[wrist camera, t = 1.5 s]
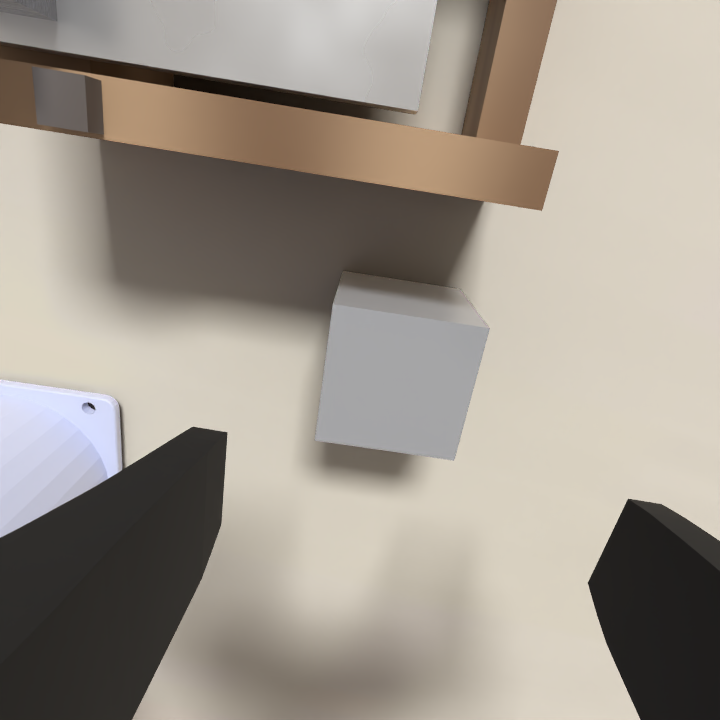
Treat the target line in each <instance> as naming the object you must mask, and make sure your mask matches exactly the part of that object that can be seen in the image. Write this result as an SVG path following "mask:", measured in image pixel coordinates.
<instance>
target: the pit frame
mask: <svg viewBox="0 0 720 720" xmlns="http://www.w3.org/2000/svg"><path fill="white" fill-rule="evenodd" d="M556 2H557V0H490V1H489V6H488V11H487V15H486V20H485V25H484V30H483V34H482V39H481V44H480V49H479V54H478V58H477V63H476V68H475V73H474V77H473V82H472V87H471V92H470V97H469V101H468V106H467V111H466V116H465V120H464V125H463V130H462V135H458V134H452V133H446V132H440V131H434V130H428V129H422V128H416V127H410V126H404V125H398V124H392V123H386V122H380V121H374V120H368V119H362V118H356V117H350V116H344V115H338V114H332V113H326V112H320V111H314V110H308V109H302V108H296V107H290V106H284V105H278V104H272V103H266V102H260V101H254V100H248V99H242V98H236V97H230V96H224V95H218V94H212V93H206V92H200V91H194V90H188V89H182V88H176V87H174V74H170V73H164V72H158V71H152V70H146V69H140V68H134V67H128V66H122V65H116V64H110V63H104V62H98V61H92V60H86V59H80V58H74V57H68V56H62V55H56V54H50V53H44V52H38V51H32V50H26V49H21V48H15V47H9V46H3V45H0V123H3V124H9V125H16V126H22V127H28V128H34V129H40V130H46V131H53V132H59V133H65V134H71V135H77V136H84V137H90V138H96V139H102V140H108V141H114V142H121V143H127V144H133V145H139V146H145V147H152V148H158V149H164V150H170V151H176V152H183V153H189V154H195V155H201V156H207V157H213V158H220V159H226V160H232V161H238V162H244V163H251V164H257V165H263V166H269V167H275V168H282V169H288V170H294V171H300V172H306V173H312V174H319V175H325V176H331V177H337V178H343V179H350V180H356V181H362V182H368V183H374V184H381V185H387V186H393V187H399V188H405V189H411V190H418V191H424V192H430V193H436V194H442V195H449V196H455V197H461V198H467V199H473V200H479V201H486V202H492V203H498V204H504V205H510V206H517V207H523V208H529V209H535V210H541V211H542V209H543V205H544V202H545V198H546V195H547V191H548V188H549V184H550V180H551V177H552V173H553V170H554V166H555V163H556V159H557V156H558V152H559V151H555V150H549V149H543V148H537V147H531V146H525V145H520V144H521V140H522V136H523V132H524V128H525V124H526V120H527V116H528V113H529V109H530V105H531V101H532V97H533V93H534V89H535V85H536V81H537V77H538V73H539V69H540V65H541V61H542V57H543V53H544V50H545V46H546V42H547V38H548V34H549V30H550V26H551V22H552V18H553V14H554V10H555V6H556Z"/></svg>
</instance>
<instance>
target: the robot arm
mask: <svg viewBox="0 0 720 720" xmlns="http://www.w3.org/2000/svg"><path fill="white" fill-rule="evenodd" d="M87 402H89V403H92V404H93V405H94V406H95V409H96V410H94V409H92V408H90V407H89V405H88V403H87ZM226 445H227V432H221V431H215V430H209V429H203V428H197V427H192V428H190V429H188V430H186V431H185V432H183V433H181V434H180V435H178V436H177V437H175V438H173V439H172V440H170V441H168V442H167V443H165V444H164V445H162V446H161V447H159V448H157V449H156V450H154V451H153V452H151V453H149V454H148V455H146V456H145V457H143V458H141V459H140V460H138V461H136V462H135V463H133V464H131V465H130V466H128V467H127V468H125V469H123V470H122V450H121V429H120V408H119V404H118V402H117V401H116V400H115V399H114V398H113V397H111V396H108V395H105V394H98V393H91V392H84V391H77V390H70V389H63V388H56V387H49V386H42V385H35V384H28V383H21V382H14V381H7V380H0V720H132V719H133V716H134V714H135V712H136V710H137V708H138V706H139V704H140V702H141V700H142V698H143V696H144V694H145V692H146V690H147V688H148V686H149V684H150V682H151V680H152V678H153V676H154V674H155V672H156V670H157V668H158V666H159V664H160V662H161V660H162V658H163V656H164V654H165V652H166V650H167V648H168V646H169V644H170V642H171V640H172V638H173V636H174V634H175V632H176V630H177V628H178V626H179V624H180V622H181V620H182V618H183V616H184V614H185V612H186V610H187V608H188V606H189V603H190V601H191V599H192V597H193V595H194V593H195V591H196V589H197V587H198V585H199V583H200V581H201V579H202V576H203V573H204V571H205V568H206V565H207V563H208V560H209V557H210V555H211V552H212V549H213V546H214V543H215V540H216V538H217V535H218V532H219V529H220V526H221V520H222V505H223V490H224V475H225V460H226ZM588 585H589V588H590V592H591V595H592V599H593V602H594V606H595V609H596V613H597V616H598V619H599V622H600V625H601V628H602V631H603V634H604V637H605V640H606V643H607V645H608V648H609V650H610V652H611V655H612V657H613V659H614V662H615V664H616V666H617V668H618V671H619V673H620V675H621V677H622V679H623V682H624V684H625V686H626V688H627V691H628V693H629V695H630V697H631V700H632V702H633V704H634V706H635V708H636V711H637V713H638V715H639V717H640V719H641V720H720V541H719V540H717V539H716V538H714V537H713V536H711V535H710V534H708V533H707V532H705V531H704V530H702V529H701V528H699V527H698V526H696V525H695V524H693V523H692V522H690V521H689V520H687V519H686V518H684V517H682V516H681V515H679V514H677V513H676V512H674V511H672V510H671V509H669V508H667V507H665V506H664V505H662V504H657V503H651V502H645V501H639V500H632V499H628V500H627V502H626V504H625V507H624V509H623V511H622V513H621V515H620V517H619V519H618V521H617V523H616V525H615V527H614V529H613V532H612V534H611V536H610V538H609V540H608V542H607V544H606V546H605V548H604V550H603V552H602V555H601V557H600V559H599V561H598V563H597V565H596V567H595V569H594V571H593V573H592V575H591V578H590V580H589V582H588Z"/></svg>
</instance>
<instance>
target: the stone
mask: <svg viewBox="0 0 720 720" xmlns="http://www.w3.org/2000/svg"><path fill="white" fill-rule="evenodd" d="M489 329H490V328H489V327H488V325H487V324H486V323H485V321H484V320H483V318H482V317H481V316H480V314H479V313H478V312H477V310H476V309H475V308H474V306H473V305H472V304H471V302H470V301H469V300H468V298H467V297H466V296H465V294H464V293H463V292H462V290H461V289H457V288H451V287H444V286H438V285H431V284H425V283H419V282H412V281H406V280H399V279H393V278H386V277H380V276H374V275H367V274H361V273H354V272H348V271H343V272H342V275H341V279H340V282H339V285H338V289H337V292H336V295H335V299H334V302H333V307H332V314H331V322H330V329H329V337H328V344H327V352H326V359H325V367H324V374H323V382H322V389H321V397H320V404H319V412H318V419H317V427H316V434H315V441H322V442H328V443H335V444H342V445H349V446H356V447H363V448H370V449H377V450H384V451H391V452H398V453H405V454H412V455H419V456H426V457H433V458H440V459H447V460H454V459H455V456H456V452H457V448H458V444H459V441H460V437H461V433H462V429H463V426H464V422H465V418H466V415H467V411H468V407H469V403H470V400H471V396H472V392H473V389H474V385H475V381H476V377H477V374H478V370H479V366H480V363H481V359H482V355H483V351H484V348H485V344H486V340H487V337H488V333H489Z"/></svg>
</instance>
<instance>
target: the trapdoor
mask: <svg viewBox="0 0 720 720" xmlns="http://www.w3.org/2000/svg"><path fill="white" fill-rule="evenodd" d="M436 5H437V0H0V45H3V46H9V47H15V48H21V49H26V50H32V51H38V52H44V53H50V54H56V55H62V56H68V57H74V58H80V59H86V60H92V61H98V62H104V63H110V64H116V65H122V66H128V67H134V68H140V69H146V70H152V71H158V72H164V73H170V74H176V75H182V76H188V77H194V78H200V79H206V80H212V81H218V82H224V83H230V84H236V85H242V86H248V87H254V88H260V89H266V90H272V91H278V92H284V93H290V94H296V95H302V96H308V97H314V98H320V99H326V100H332V101H338V102H344V103H350V104H356V105H362V106H368V107H374V108H380V109H386V110H392V111H398V112H404V113H410V114H416V113H417V112H418V108H419V102H420V96H421V91H422V85H423V79H424V74H425V68H426V62H427V56H428V51H429V45H430V39H431V34H432V28H433V22H434V16H435V11H436Z"/></svg>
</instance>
